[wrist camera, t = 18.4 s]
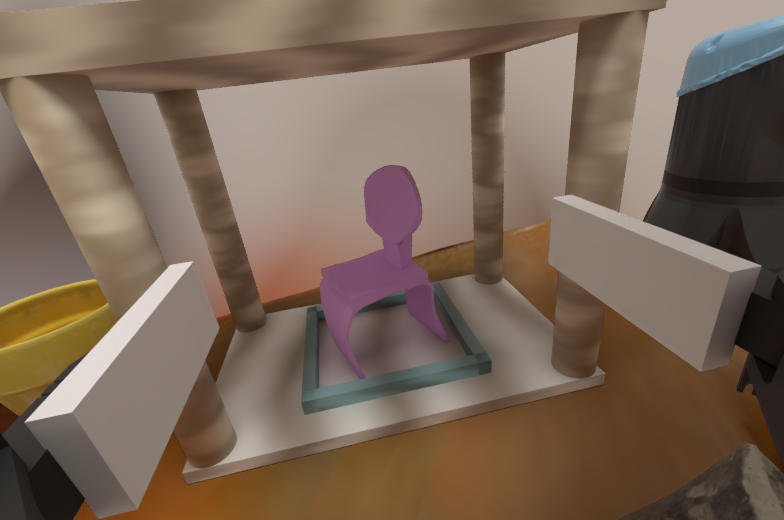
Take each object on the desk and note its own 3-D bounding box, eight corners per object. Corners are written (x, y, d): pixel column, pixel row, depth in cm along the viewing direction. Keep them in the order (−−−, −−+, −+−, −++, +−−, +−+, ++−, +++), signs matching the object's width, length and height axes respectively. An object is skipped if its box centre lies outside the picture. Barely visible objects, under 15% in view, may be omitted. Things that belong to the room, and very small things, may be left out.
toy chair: (325, 339, 34) (287, 178, 27) (405, 306, 37) (388, 157, 31) (363, 394, 27) (324, 196, 21) (457, 347, 30) (448, 166, 24)
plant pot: (61, 387, 33) (2, 295, 29) (183, 355, 36) (144, 265, 32) (-16, 491, 24) (-117, 378, 20) (155, 438, 27) (95, 328, 23)
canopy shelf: (495, 277, 43) (495, 29, 32) (603, 384, 26) (674, -47, 16) (242, 326, 39) (153, 67, 29) (187, 484, 23) (-61, 17, 13)
